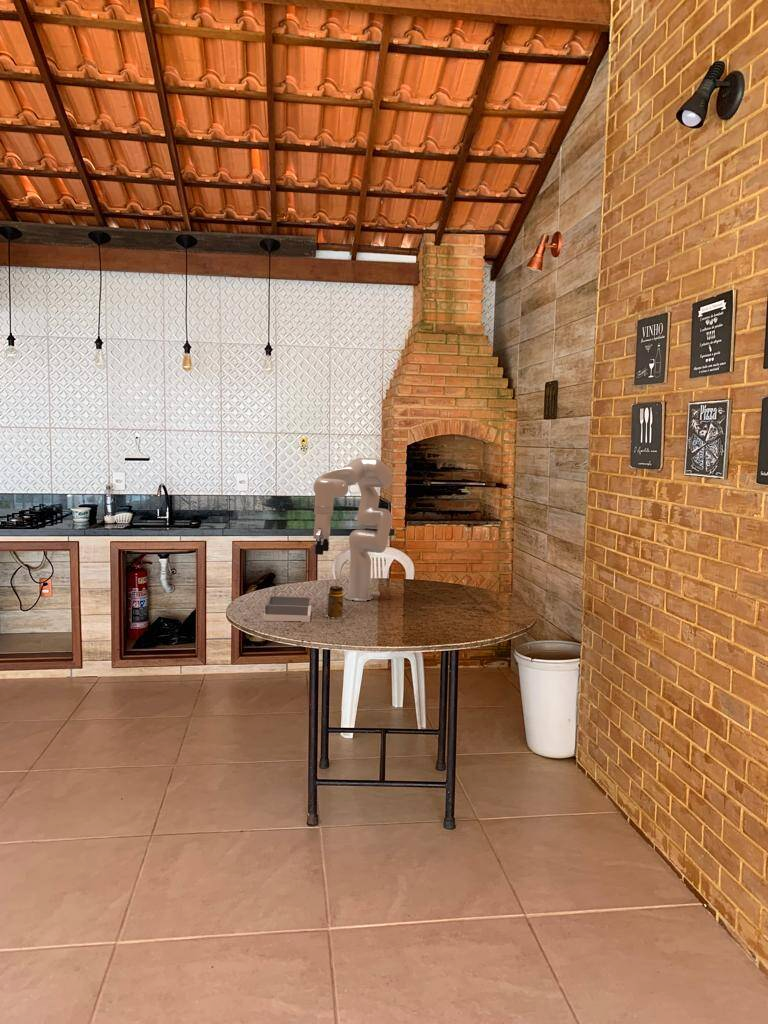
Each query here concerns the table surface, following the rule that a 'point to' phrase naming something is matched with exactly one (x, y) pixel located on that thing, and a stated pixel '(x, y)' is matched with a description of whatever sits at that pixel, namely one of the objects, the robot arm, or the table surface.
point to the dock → (287, 609)
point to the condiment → (335, 602)
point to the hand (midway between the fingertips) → (321, 552)
